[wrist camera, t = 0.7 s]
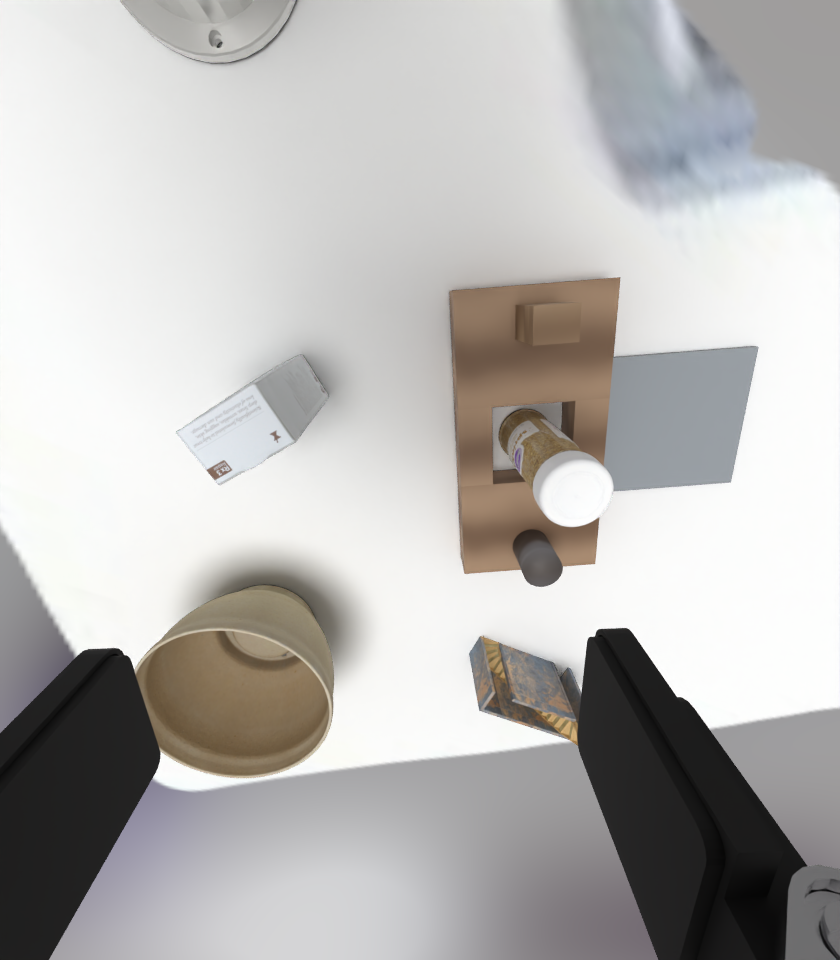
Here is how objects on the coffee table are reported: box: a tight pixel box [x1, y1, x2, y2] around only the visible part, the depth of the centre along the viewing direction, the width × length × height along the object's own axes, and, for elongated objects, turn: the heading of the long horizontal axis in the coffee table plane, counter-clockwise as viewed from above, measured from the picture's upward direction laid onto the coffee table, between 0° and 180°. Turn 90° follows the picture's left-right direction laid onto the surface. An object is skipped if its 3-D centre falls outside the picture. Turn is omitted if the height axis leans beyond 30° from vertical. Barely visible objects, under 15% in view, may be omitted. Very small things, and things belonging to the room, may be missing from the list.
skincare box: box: [176, 355, 329, 485], centre depth 32 cm, size 6×4×12 cm
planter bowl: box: [134, 585, 334, 778], centre depth 41 cm, size 16×16×11 cm
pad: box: [604, 346, 758, 491], centre depth 39 cm, size 12×12×1 cm
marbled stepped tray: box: [469, 636, 581, 745], centre depth 45 cm, size 11×3×10 cm, turn 65°
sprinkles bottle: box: [499, 409, 614, 527], centre depth 33 cm, size 5×5×14 cm
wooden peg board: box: [449, 277, 620, 587], centre depth 35 cm, size 24×12×8 cm, turn 4°
